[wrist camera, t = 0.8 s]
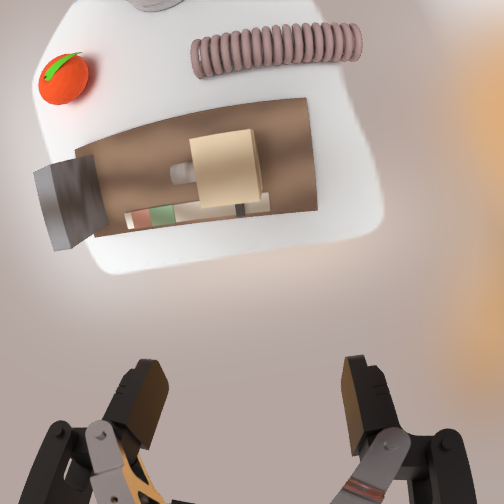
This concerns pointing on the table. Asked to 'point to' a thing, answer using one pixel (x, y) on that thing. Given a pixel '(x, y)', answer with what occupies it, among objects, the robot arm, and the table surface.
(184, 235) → the table surface
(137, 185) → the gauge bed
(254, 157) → the block
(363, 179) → the table surface
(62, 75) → the clementine
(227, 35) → the coil
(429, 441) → the robot arm
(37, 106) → the table surface
